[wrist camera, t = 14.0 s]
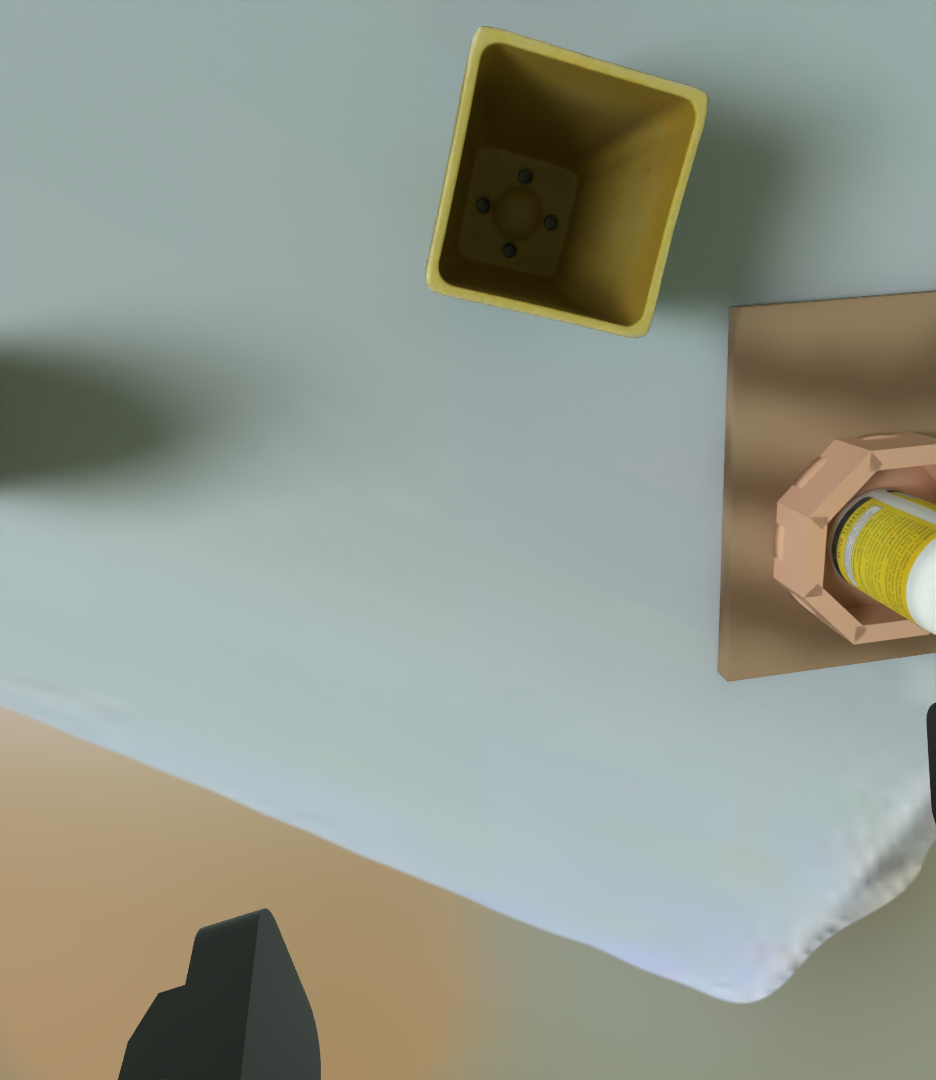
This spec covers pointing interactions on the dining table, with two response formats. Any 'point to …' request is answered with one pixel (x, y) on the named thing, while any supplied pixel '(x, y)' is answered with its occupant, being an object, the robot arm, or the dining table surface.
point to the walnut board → (809, 454)
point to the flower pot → (563, 184)
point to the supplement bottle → (889, 552)
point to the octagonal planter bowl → (812, 509)
